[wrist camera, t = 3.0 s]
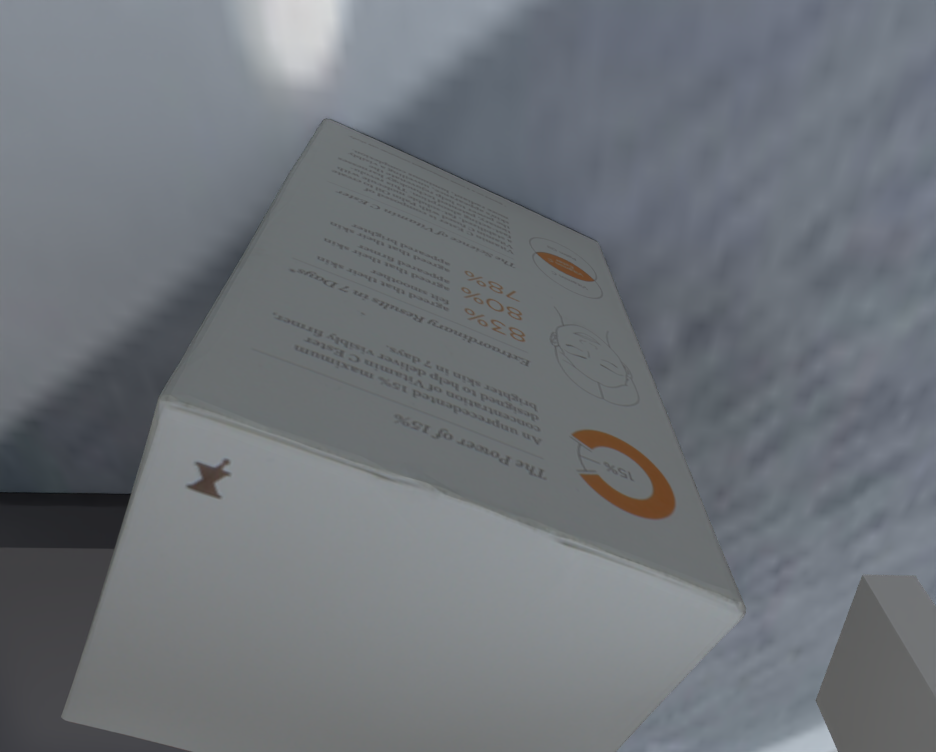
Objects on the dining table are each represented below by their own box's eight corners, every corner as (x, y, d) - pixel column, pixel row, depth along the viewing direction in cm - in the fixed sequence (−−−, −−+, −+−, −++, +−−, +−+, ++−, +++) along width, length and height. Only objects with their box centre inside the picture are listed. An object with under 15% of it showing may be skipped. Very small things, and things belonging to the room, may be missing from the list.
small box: (246, 318, 23) (40, 726, 12) (323, 110, 20) (147, 386, 9) (501, 418, 25) (537, 854, 13) (607, 241, 22) (765, 610, 10)
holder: (0, 781, 34) (-31, 841, 32) (-132, 490, 26) (-186, 545, 24) (372, 784, 34) (366, 843, 32) (355, 497, 26) (346, 551, 24)
